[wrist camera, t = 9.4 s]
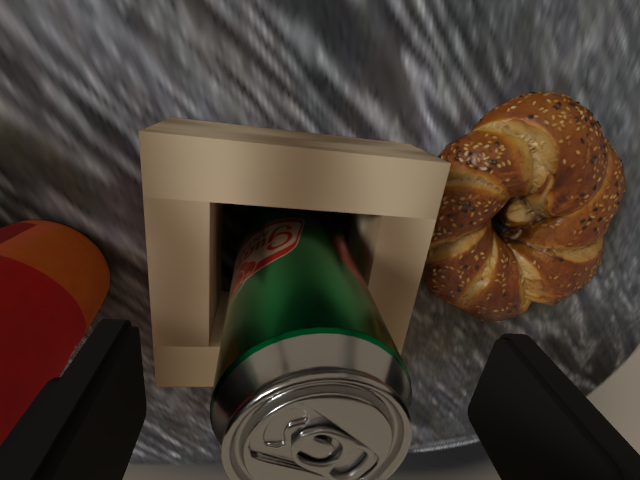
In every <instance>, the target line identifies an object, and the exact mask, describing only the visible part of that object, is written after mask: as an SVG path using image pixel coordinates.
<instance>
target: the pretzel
mask: <svg viewBox="0 0 640 480" xmlns="http://www.w3.org/2000/svg"><path fill="white" fill-rule="evenodd" d="M438 158H441V159H443V160H445V161H447V162H449V163H451V166H450V170H449V173H448V177H447V181H446V185H445V189H444V192H443V196H442V200H441V204H440V208H439V211H438V215H437V219H436V223H435V227H434V231H433V234H432V238H431V242H430V246H429V250H428V253H427V257H426V261H425V265H424V269H423V273H422V276H421V279H422V280H423V282H424V283H425V285H426V286H427V287H428V288H429V289H430V290H431V292H432V293H433V294H436V295H438V296H439V297H440V298H442V299H444V300H445V301H446V302H448V303H451V304H453V305H455V306H457V307H459V308H460V309H462V310H463V311H465V312H466V313H468V314H470V315H472V316H475V317H477V318H479V319H480V320H482V321H484V320H489V321H503V320H505V319H510V318H515V317H516V316H518V315H520V314H522V313H524V312H525V311H526V310H527V309H528V306H530V304H531V303H532V302H533V301H534V302H538V303H542V304H549V305H550V306H554V305H556V304H557V303H558V302H560V301H561V300H563V299H565V298H567V297H569V296H571V295H573V294H574V293H577V292H578V290H579V289H581V288H583V286H584V285H585V284H586V283H589V282H590V280H591V279H592V278H593V276H594V275H596V271H597V268H598V267H599V265H600V264H601V261H602V259H601V257H602V254H603V235H604V234H605V233H606V232H607V230H608V227H609V224H610V222H611V220H612V219H613V217H614V216H615V214H616V213H617V212H618V210H619V207H620V204H621V201H622V197H623V195H624V192H625V184H626V181H625V174H624V167H622V166H623V164H622V163H621V161H622V160H620V159H619V156H618V154H617V153H616V151H615V149H614V148H613V147H612V146H611V145H610V144H609V141H608V140H606V138H604V137H603V131H602V129H601V126H600V124H599V121H596V120H595V119H594V117H593V114H592V113H590V110H587V108H586V107H582V106H581V105H580V103H579V102H575V101H573V100H572V99H571V97H569V96H566V95H564V94H556V93H553V92H550V93H542V92H538V93H535V92H531V93H530V94H527V95H526V94H523V95H521V96H519V97H516V98H514V99H511V100H509V101H507V102H504V103H502V104H500V105H498V106H497V107H495V108H494V109H493V110H491V111H490V112H488V113H487V114H485V115H484V116H483V118H482V119H480V121H479V122H478V123H477V124H476V125H475V126H474V128H473V129H472V131H471V132H470V133H469V134H467V135H465V136H463V137H461V138H459V139H458V140H456V141H454V142H452V143H450V144H448V145H446V147H445V149H444V150H443V151H442V152H441V153H440V154H439V156H438ZM495 214H497V215H498V217H499V218H500V220H501V222H502V224H503V227H504V228H507V229H508V230H507V231H506V232H501V233H500V236H498V234H497V233H496V232H495V230H494V229H493V228H492V224H491V219H492V217H493V216H495Z"/></svg>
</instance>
